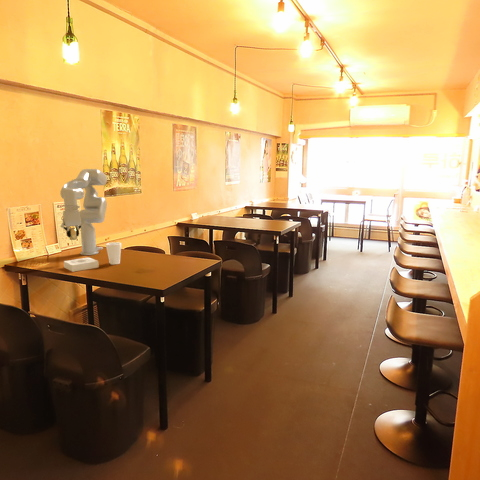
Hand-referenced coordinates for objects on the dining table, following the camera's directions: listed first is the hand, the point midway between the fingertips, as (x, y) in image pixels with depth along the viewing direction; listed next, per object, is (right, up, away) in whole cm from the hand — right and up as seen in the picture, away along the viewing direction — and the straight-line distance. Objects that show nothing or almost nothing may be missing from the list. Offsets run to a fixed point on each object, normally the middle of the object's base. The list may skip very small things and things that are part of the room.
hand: (73, 236), depth 260 cm
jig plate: (+9, -19, -9) cm, 23 cm away
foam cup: (+26, -18, +1) cm, 32 cm away
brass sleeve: (0, -2, 0) cm, 2 cm away
